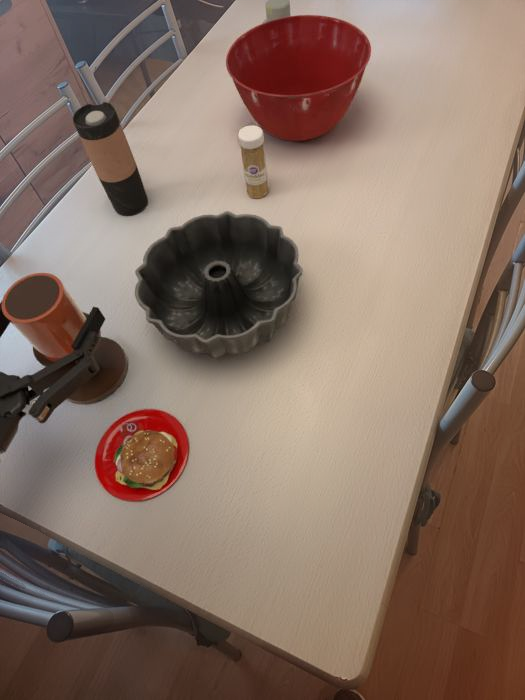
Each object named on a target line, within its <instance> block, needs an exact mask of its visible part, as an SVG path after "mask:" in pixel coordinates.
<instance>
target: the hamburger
mask: <svg viewBox="0 0 525 700" xmlns="http://www.w3.org/2000/svg"><path fill="white" fill-rule="evenodd" d="M189 449H190V447H189V437H188V435H187V432H186V429H185V428H184V426H183V424H182V423H181V422H180V421H179V419H177V418H176V417H175V416H173V415H172V414H170V413H168V412H166V411H164V410H160V409H153V408H146V409H145V408H144V409H143V408H142V409H138V410H135V411H132V412H131V411H130V412H129V413H127V414H125V415H122V416H121V417H120V418H118V419H117V420H116V421H114V422H113V423H112V424H111V425H110V426H109V427H108V428H107V429H106V431H104V433H103V435H102V437H101V438H100V440H99V442H98V444H97V447H96V451H95V455H94V470H95V474H96V477H97V479H98V481H99V483H100V485H101V486H102V488H103V489H104V490H105V491H106V492H107V493H109V494H110V495H111V496H113V497H115V498H117V499H119V500H123V501H129V502H139V501H145V500H149V499H152V498H155V497H156V496H159V495H160V494H162V493H164V492H165V491H167V490H168V489H169V488H170V487H171V486H173V484H174V483H176V481H177V480H178V479H179V477H180V476H181V474H182V472H183V471H184V469H185V467H186V464H187V462H188V458H189Z"/></svg>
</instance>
